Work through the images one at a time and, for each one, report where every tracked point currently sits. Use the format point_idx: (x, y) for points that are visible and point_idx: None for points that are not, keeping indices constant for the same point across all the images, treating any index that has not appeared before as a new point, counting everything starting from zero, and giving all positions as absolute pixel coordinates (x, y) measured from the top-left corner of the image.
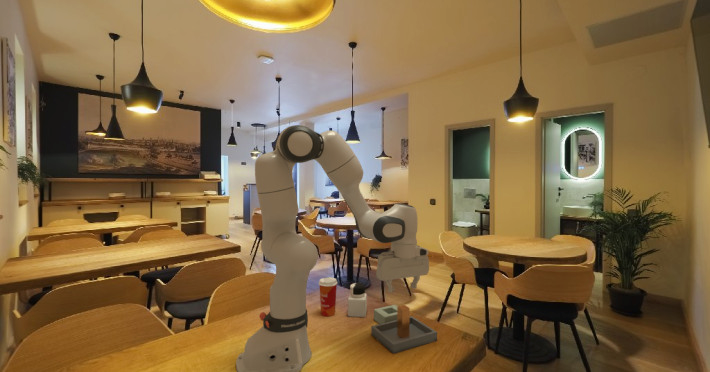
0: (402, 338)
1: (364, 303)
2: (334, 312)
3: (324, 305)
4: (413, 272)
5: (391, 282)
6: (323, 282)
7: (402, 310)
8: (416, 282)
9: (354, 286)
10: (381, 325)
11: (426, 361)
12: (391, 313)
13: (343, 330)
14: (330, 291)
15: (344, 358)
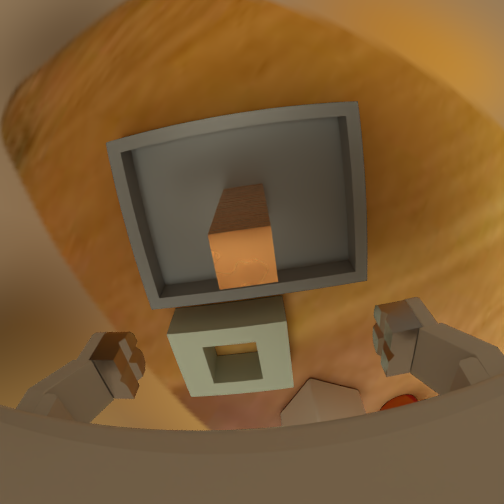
0: (262, 180)
1: (321, 415)
2: (388, 406)
3: None
4: (64, 473)
5: (469, 359)
6: None
7: (269, 224)
8: (75, 368)
9: None
10: (323, 275)
11: (244, 16)
12: (239, 342)
13: None
14: None
15: (488, 156)
